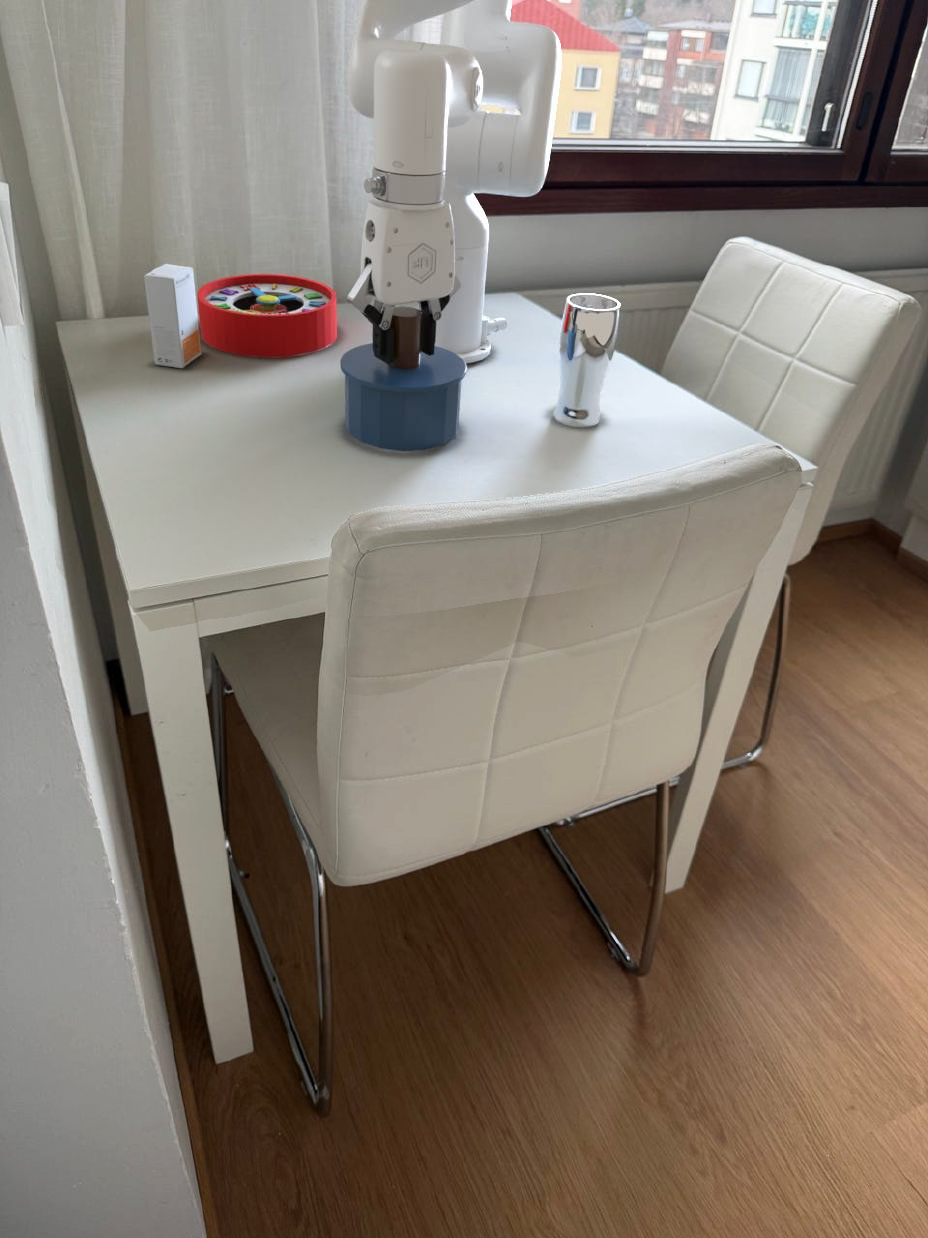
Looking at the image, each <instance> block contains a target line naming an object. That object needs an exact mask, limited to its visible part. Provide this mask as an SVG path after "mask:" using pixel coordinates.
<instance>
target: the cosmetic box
mask: <svg viewBox="0 0 928 1238" xmlns="http://www.w3.org/2000/svg"><path fill="white" fill-rule="evenodd" d="M143 280H144V288H145V296H146V303H147V304H146V305H147V311H148V319H149V327H150V335H151V336H150V337H151V344H152V352H153V360H154V364H155V365H156V366H163V367H170V368H177V369H185V367H187V365H189V364H190V363H191V362H193V361H194V360H196V359H197V358H198V357H200V356H202V348H201V347H202V346H201V335H200V325H199V314H198V306H197V305H198V304H197V294H196V285H195V274H194V268H193V267H191V266H184V265H176V264H170V263H165V264H162V265H161V266H159V267H155V268H154V269H152V270H151V271H149V272H148V273H146V274H144V275H143Z"/></svg>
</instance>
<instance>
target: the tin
mask: <svg viewBox="0 0 928 1238" xmlns="http://www.w3.org/2000/svg"><path fill="white" fill-rule="evenodd" d="M461 392H462V380H461V381H460V382H458V383H457V384H455V385H453V386H450V387H447V388H443V389H439V390H434V391H426V392H395V391H387V390H381V389H376V388H372V387H368V386H365V385H362V384H359V383H357V382H355V381H353V380H351V379H350V378H348V377H347V376H346V375H345V374H344V412H345V413H344V415H345V420H344V421H345V426H346V427H345V428H346V430H347V432H348V435H350V436H352V437H353V438H354V439H355V440H357V441H358V442H360V443H362V444H365V445H369V446H372V447H375V448H377V449H382V450H392V451H398V452H413V451H425V450H426V451H427V450H429V449H433V448H437V447H441V446H444V445H446V444H447V443H449V442H450V441H452V440H456V439H457V436H458V430H459V426H460V425H459V424H460V410H461V409H460V407H461V394H462V393H461Z"/></svg>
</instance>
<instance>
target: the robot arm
mask: <svg viewBox="0 0 928 1238" xmlns="http://www.w3.org/2000/svg"><path fill="white" fill-rule="evenodd" d="M512 1H513V0H363V1H362V3H361V5H360V7H359V11H358V14H357V18H356V23H355V29H354V32H353V36H352V41H351V44H350V50H349V55H348V63H347V69H346V70H347V71H346V87H347V92H348V97H349V100H350V102H351V105H352V106H353V108H354V109H355V110H356V111H357V113H359V114H360V115H362V116H363V117H366V118H368V119H371V120H373V163H372V165H373V168H372V172H371V173H372V176H371V177H370V178H366V179H365V180H364V183H363V187H364V191H365V192H366V193H367V194H372V199H370V200H368V203H367V207H366V212H365V217H364V223H363V229H362V231H363V232H362V238H361V239H362V240H361V250H360V251H361V253H360V275H359V276H358V278H357V280H356V281H355V283H354V285H353V286H352V288H351V290H350V291H349V293H348V295H347V297H346V300H347V302H348V303H349V304H350V305H352V306H353V307H354V308H355V309H356V310H358V311H359V312H360V313H361V314H362V315H363V316H364V317H365V318H366V319H367V321H368V322H369V324H371V325H372V343H373V352H374V356H375V357H376V358H378V359H380V360H381V361H383V362H385V363H386V364H391V363H392V362H393V361H394V330H393V329H391V328H390V327H389V326H390V323H391V319H392V315H393V311H394V308H395V307H396V306H400V305H406V304H412V303H417V309H418V310H420V311H421V312H422V325H421V352H423V353H425V354H427V355H429V356H430V355H434V347H435V346H437V347H440V348H443V349H446V350H449V351H451V352H453V353H455V354H456V355H458V356H459V357H461V358H462V359H463V360H464V362H465V363H466V364H471V363H476V362H479V361H483V360H484V359H486V358H488V356H489V355H490V354H491V347H492V345H491V342H490V341H489V340H488V339H487V337H489V336H490V335H491V333H498V332H503V331H505V330H506V329H507V327H508V323H507V320H506V318H505V317H497V318H493V319H490V318H489V316H488V315H484V306H485V305H484V303H485V291H486V279H487V267H488V266H487V264H488V254H489V253H488V252H489V242H490V241H489V240H490V227H489V226H490V225H489V221H488V219H487V216H486V214H485V211H484V209H483V208H482V206H481V205H480V203H479V201H478V199H477V198H476V196H475V194H489V195H500V196H501V195H502V196H508V197H519V198H520V197H521V198H527V197H532V196H535V195H537V194H538V193H539V192H541V189H542V188H543V186H544V184H545V180H546V179H547V174H548V169H549V164H550V163H549V162H550V157H551V149H552V141H553V134H554V126H555V121H556V111H557V104H558V97H559V90H560V81H561V71H562V49H561V42H560V39H559V37H558V35H557V34H556V31H554V30H553V29H552V28H550V27H548V26H547V25H543V24H540V23H534V22H523V21H512V20H511V19H510V18H511V9H512V4H513V2H512ZM442 15H443V17H442V25H441V33H440V35H441V36H440V42H439V43H430V42H428V43H427V42H425V41H414V40H413V41H412V40H401V39H395V38H396V37H397V36H398V35H399V34H400V33H402V32H403V31H405V30H406V29H408V28H410V27H411V26H412V27H413V26H414V25H416V24H418V23H421V22H423V21H426V20H429V19H433V18H435V17H439V16H442ZM480 105H484V106H493V107H502V108H503V107H504V108H512V109H517V110H518V112H519V113H520V114H510V113H502V112H500V113H499V112H491V111H487V110H479V108H480ZM367 296H371V297H372V299H371V303H370V302H369V301H368V300H367Z"/></svg>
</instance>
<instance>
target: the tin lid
mask: <svg viewBox="0 0 928 1238" xmlns="http://www.w3.org/2000/svg"><path fill="white" fill-rule="evenodd" d="M421 325H422V312H421V311H420V310H418V308H416V307H411V306H395V308H394V311H393V315H392V319H391V323H390V326H389V327H390V328H391V329H393V330H394V361H393V362H392V363H391V364H386V363H385V362H383V361H381V360H380V359H378V358H376V357H375V356H374V352H373V342H371V343H366V344H362V345H359V346H355V347H352V348H350V349H349V350H348V351H346V352H344V354H343V355H342V356H341V357H340V363H339V364H340V370H341V372H342V373H343V374H344V376H345V375H346V376H347V377H348V378H350V379H351V380H353V381H355V382H357V383H359V384H362V385H365V386H368V387H372V388H376V389H381V390H387V391H395V392H426V391H434V390H439V389H443V388H447V387H450V386H453V385H455V384H457V383H458V382H460V381H461V382H462V380H463V379H464V378H465V377H466V375H467V363H465V362H464V360H463V359H462V358H461V357H459V356H458V355H456V354H455V353H453V352H451V351H449V350H446V349H443V348H440V347H437V346H435V347H434V355H430V356H429V355H427V354H425V353H423V352H421Z"/></svg>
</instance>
